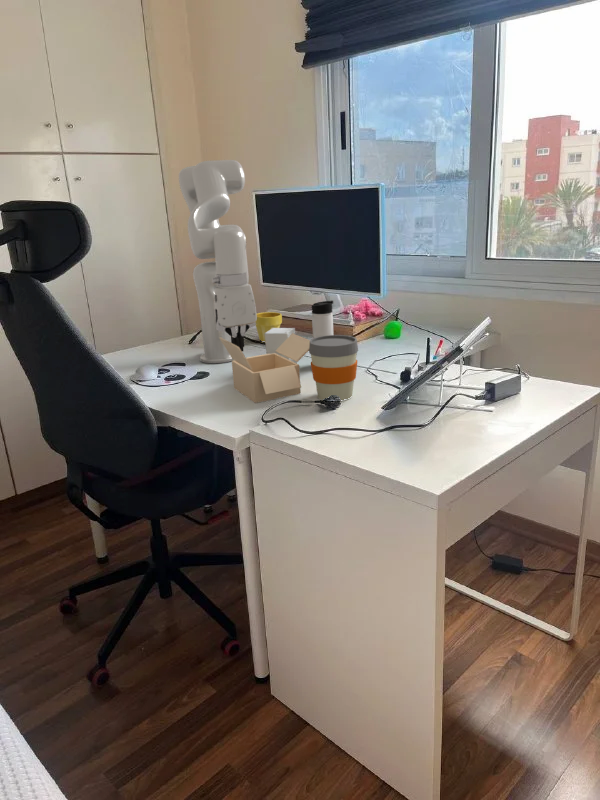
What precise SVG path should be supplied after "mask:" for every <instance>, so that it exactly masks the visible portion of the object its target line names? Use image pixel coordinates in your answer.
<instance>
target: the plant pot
mask: <svg viewBox="0 0 600 800" xmlns="http://www.w3.org/2000/svg"><path fill="white" fill-rule="evenodd" d="M256 313H257V312H256ZM282 323H283V316H282V313H280V312H278V311H277V312H276V311H265V312H259V313H257V320H256V325H255V328H256V331H257V335H258V340H259V341H260V340H261V341H265V334H264V333H266V332H267V331H269V330H271V329H272V328H281V324H282Z"/></svg>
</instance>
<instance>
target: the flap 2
mask: <svg viewBox="0 0 600 800" xmlns="http://www.w3.org/2000/svg"><path fill="white" fill-rule="evenodd" d="M310 340H311V339H307V338H305V337H303V336H300V335H297V334H296V333H295V334H293V333H292V334H291V335H290V336H289V337H288V338H287V339H286V340H285V341H284V342H283V343H282V344H281V345H280V346H279V347H278V348H277V350H276V352H278V353H280V354H282V355H285V356H287V357H289V358H291V359H293V360H295V361H297V363H298V362H299V361H300V360H301V359H302V358H303V357H304V356H306V354H307V353H309V345H310Z"/></svg>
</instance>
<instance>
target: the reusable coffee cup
mask: <svg viewBox="0 0 600 800" xmlns="http://www.w3.org/2000/svg"><path fill="white" fill-rule="evenodd" d="M309 340H310V345H309V351H308V353H309V355H310V357H311V361H310V368H311V373H312V379H313V381H314V382H315V386H316V392H317V399H319V400H320V401H323V399H325V398H328V397H329V396H331V395H337V396H339V397H340V399H341V400H344V399H348V398H350V397H351V396H352V397H353V393H354V382H355V380H356V378H357V370H358V360H357V354H358V351H359V345H358V339H357V337H354V336H352V335H346V334H345V335H344V334H333V335H327V336H320V337H316V338H313V337H312V339H309ZM350 399H351V398H350ZM348 400H349V399H348Z"/></svg>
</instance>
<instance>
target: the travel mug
mask: <svg viewBox="0 0 600 800" xmlns="http://www.w3.org/2000/svg"><path fill="white" fill-rule="evenodd" d="M333 304H334V300H324V301H318V302H315V303H313V304H312V305H311V323H312V324H311V326H312V328H311V329H312V339H313V338H316V337H320V336H327V335H334V316H333V315H334V314H333V313H334V312H333Z"/></svg>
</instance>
